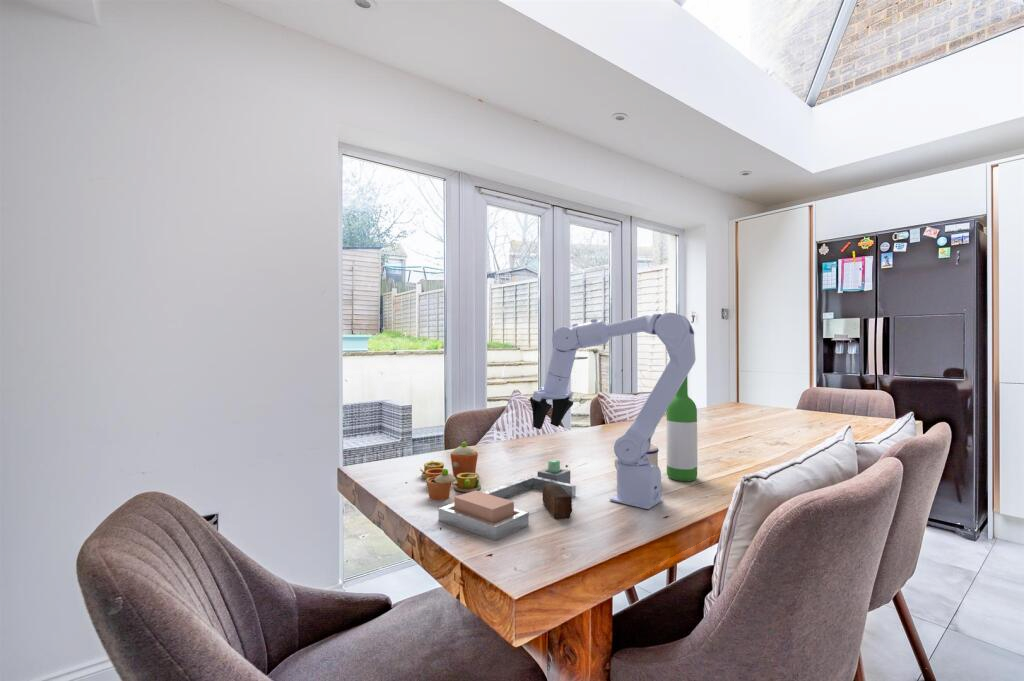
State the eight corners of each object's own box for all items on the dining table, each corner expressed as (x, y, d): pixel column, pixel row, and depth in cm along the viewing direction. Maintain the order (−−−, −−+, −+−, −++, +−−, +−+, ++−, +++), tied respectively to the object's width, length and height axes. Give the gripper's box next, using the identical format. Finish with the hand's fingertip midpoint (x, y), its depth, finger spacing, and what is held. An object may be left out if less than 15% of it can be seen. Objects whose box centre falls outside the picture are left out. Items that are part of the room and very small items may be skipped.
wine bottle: (702, 478, 128) (702, 365, 128) (688, 484, 122) (688, 367, 123) (675, 472, 133) (675, 365, 134) (661, 478, 128) (660, 365, 128)
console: (570, 484, 123) (570, 470, 123) (557, 489, 118) (557, 475, 118) (551, 479, 127) (551, 466, 127) (537, 485, 122) (537, 471, 122)
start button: (562, 476, 123) (562, 460, 123) (555, 479, 120) (555, 463, 120) (552, 474, 124) (552, 459, 125) (545, 477, 122) (545, 461, 122)
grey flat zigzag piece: (585, 498, 112) (585, 487, 112) (495, 540, 88) (495, 526, 88) (532, 485, 122) (532, 475, 122) (438, 520, 98) (438, 508, 98)
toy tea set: (419, 474, 134) (419, 439, 134) (474, 471, 137) (474, 437, 137) (421, 504, 108) (421, 462, 108) (489, 500, 111) (489, 458, 111)
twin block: (475, 513, 102) (475, 490, 102) (513, 526, 95) (513, 501, 95) (454, 521, 98) (454, 497, 98) (492, 535, 91) (492, 509, 91)
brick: (572, 519, 99) (572, 496, 99) (554, 520, 98) (554, 497, 98) (558, 502, 109) (558, 482, 109) (542, 503, 109) (541, 482, 109)
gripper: (562, 370, 127) (550, 419, 128) (528, 369, 116) (515, 423, 117) (584, 378, 122) (571, 428, 124) (551, 378, 111) (537, 433, 113)
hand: (545, 426), depth 120 cm, fingers open, 7 cm apart
